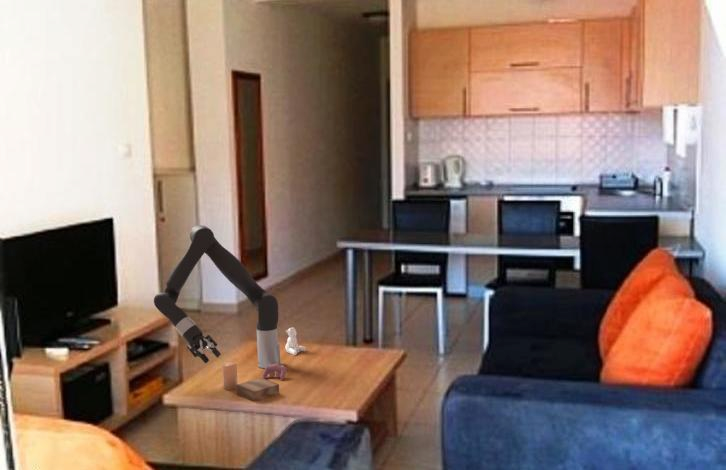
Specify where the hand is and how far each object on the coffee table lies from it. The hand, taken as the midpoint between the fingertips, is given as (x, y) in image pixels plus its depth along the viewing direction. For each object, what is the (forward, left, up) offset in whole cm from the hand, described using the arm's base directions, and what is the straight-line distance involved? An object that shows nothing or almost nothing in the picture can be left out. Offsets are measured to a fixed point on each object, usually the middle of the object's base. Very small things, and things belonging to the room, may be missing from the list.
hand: (213, 359), depth 312 cm
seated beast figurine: (-49, -24, -12) cm, 56 cm away
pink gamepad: (-25, +6, -12) cm, 28 cm away
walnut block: (-10, +20, -12) cm, 26 cm away
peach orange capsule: (-4, +6, -12) cm, 14 cm away
